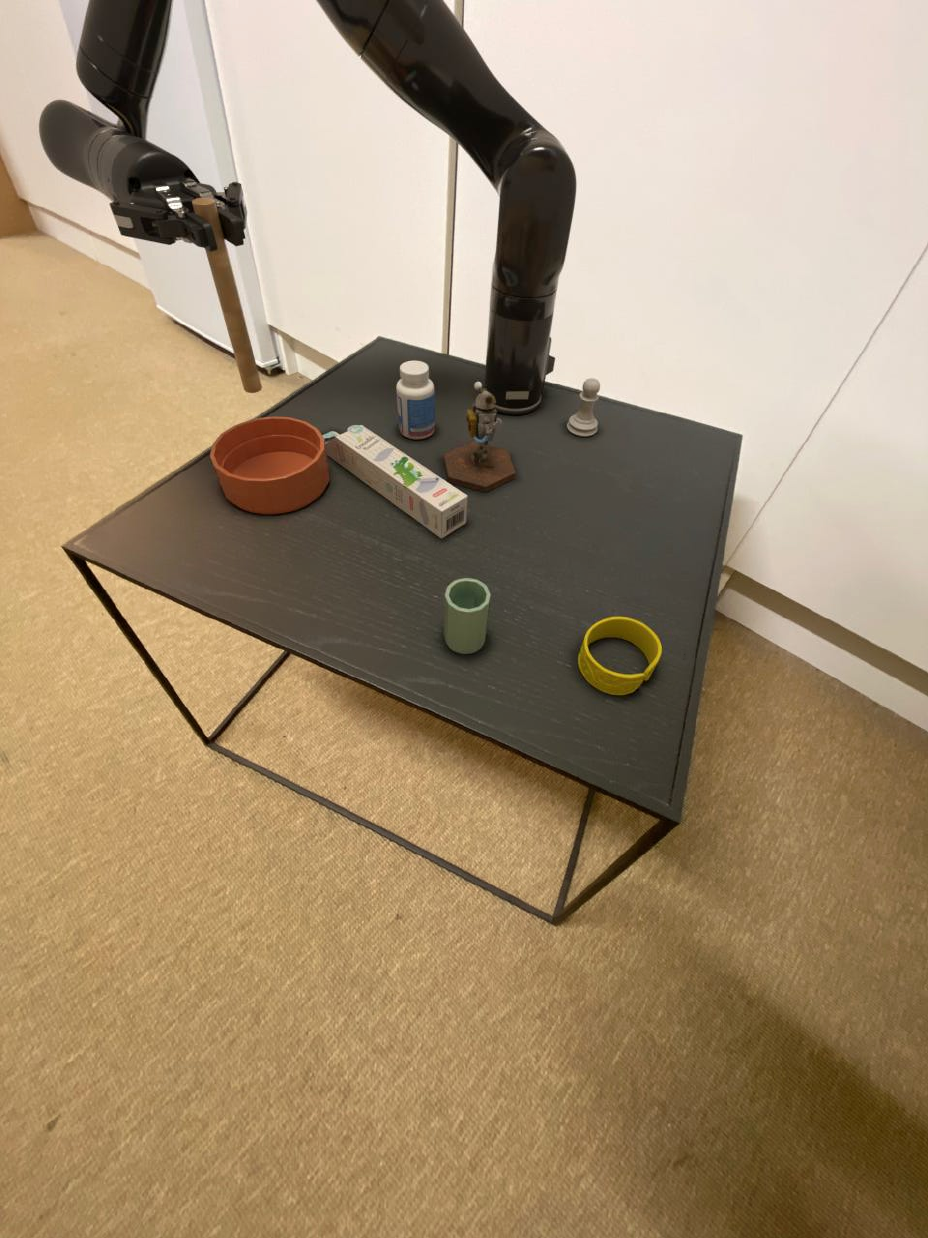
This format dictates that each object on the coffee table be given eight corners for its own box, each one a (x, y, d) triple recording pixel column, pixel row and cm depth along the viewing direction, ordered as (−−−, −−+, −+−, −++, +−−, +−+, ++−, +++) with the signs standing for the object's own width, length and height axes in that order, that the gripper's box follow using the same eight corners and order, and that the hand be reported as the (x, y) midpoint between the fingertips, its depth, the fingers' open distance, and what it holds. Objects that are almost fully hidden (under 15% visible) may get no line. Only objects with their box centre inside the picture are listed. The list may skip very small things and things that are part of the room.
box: (441, 539, 71) (309, 442, 82) (466, 523, 73) (333, 430, 85) (442, 511, 67) (303, 414, 79) (468, 495, 69) (329, 403, 81)
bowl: (286, 439, 83) (277, 404, 78) (352, 480, 77) (347, 445, 73) (201, 482, 76) (187, 447, 71) (267, 531, 70) (256, 496, 66)
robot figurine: (519, 491, 77) (530, 411, 68) (451, 496, 76) (453, 414, 67) (503, 444, 84) (511, 365, 75) (441, 448, 83) (441, 368, 73)
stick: (260, 383, 66) (214, 196, 52) (263, 391, 65) (216, 203, 51) (243, 385, 65) (191, 197, 51) (245, 394, 64) (192, 204, 50)
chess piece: (602, 434, 87) (615, 384, 80) (575, 439, 85) (586, 389, 79) (587, 418, 89) (598, 368, 83) (561, 423, 88) (570, 373, 82)
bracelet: (563, 661, 59) (568, 642, 57) (611, 623, 63) (618, 604, 60) (617, 708, 56) (626, 690, 54) (665, 665, 60) (675, 646, 57)
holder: (462, 615, 63) (465, 571, 57) (493, 636, 61) (499, 593, 56) (436, 638, 61) (436, 595, 55) (467, 661, 59) (470, 618, 54)
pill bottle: (441, 428, 86) (442, 365, 79) (421, 444, 83) (419, 381, 76) (412, 416, 88) (410, 354, 80) (391, 432, 85) (387, 369, 77)
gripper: (61, 149, 53) (130, 198, 45) (202, 133, 59) (284, 173, 51) (98, 240, 59) (165, 298, 51) (222, 217, 65) (300, 265, 57)
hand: (224, 235), depth 51 cm, fingers closed on stick, 2 cm apart
